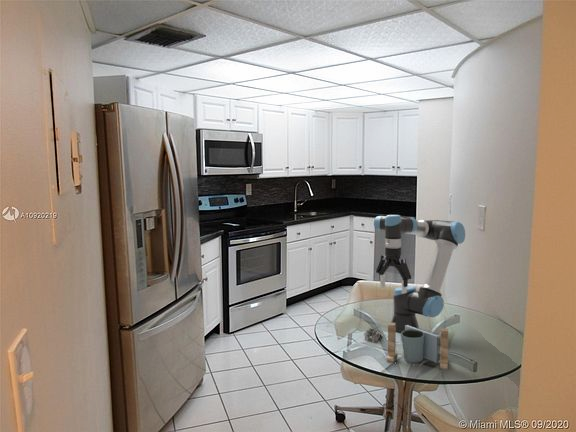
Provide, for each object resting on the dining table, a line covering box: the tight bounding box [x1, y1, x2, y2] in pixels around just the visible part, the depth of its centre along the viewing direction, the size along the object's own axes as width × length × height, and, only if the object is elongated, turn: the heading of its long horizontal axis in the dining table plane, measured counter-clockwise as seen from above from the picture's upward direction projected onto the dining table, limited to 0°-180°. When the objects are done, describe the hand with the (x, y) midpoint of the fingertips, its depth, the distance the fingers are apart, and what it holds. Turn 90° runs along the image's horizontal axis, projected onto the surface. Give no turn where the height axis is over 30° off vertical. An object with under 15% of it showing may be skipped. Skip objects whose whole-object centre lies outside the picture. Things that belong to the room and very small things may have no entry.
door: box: [405, 325, 441, 364], centre depth 204 cm, size 3×19×12 cm, turn 34°
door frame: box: [386, 321, 449, 370], centre depth 199 cm, size 10×26×16 cm, turn 68°
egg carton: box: [363, 327, 383, 343], centre depth 229 cm, size 11×8×4 cm
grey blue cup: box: [400, 329, 424, 364], centre depth 201 cm, size 10×10×12 cm
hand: (393, 290), depth 213 cm, fingers open, 13 cm apart
